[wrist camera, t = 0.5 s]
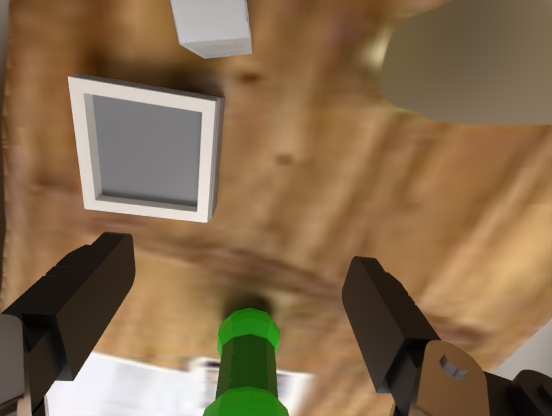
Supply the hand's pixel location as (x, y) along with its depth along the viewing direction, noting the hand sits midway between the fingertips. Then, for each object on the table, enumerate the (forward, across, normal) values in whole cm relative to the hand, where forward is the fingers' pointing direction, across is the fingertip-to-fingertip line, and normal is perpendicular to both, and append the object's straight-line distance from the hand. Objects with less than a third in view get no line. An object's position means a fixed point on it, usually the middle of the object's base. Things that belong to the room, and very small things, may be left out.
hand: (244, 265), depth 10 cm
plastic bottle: (+25, -3, +30) cm, 39 cm away
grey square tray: (+26, +11, +3) cm, 28 cm away
